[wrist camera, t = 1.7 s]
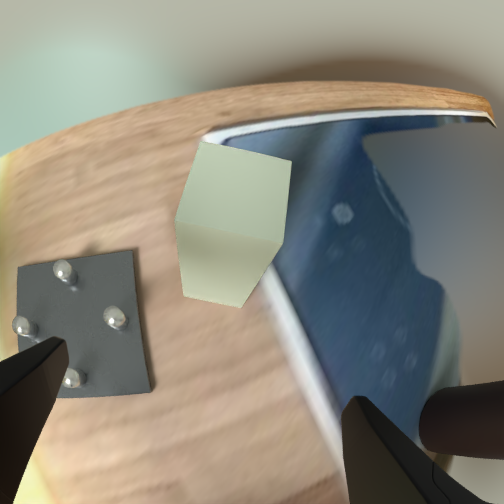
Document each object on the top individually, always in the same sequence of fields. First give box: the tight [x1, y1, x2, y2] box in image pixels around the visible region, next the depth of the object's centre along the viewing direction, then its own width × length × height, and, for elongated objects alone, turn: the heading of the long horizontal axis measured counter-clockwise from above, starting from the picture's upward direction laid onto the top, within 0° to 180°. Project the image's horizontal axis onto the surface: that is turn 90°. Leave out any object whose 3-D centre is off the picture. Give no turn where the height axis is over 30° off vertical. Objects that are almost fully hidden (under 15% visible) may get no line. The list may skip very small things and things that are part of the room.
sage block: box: [174, 141, 292, 308], centre depth 19 cm, size 4×4×12 cm
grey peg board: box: [12, 250, 152, 398], centre depth 19 cm, size 11×11×3 cm
